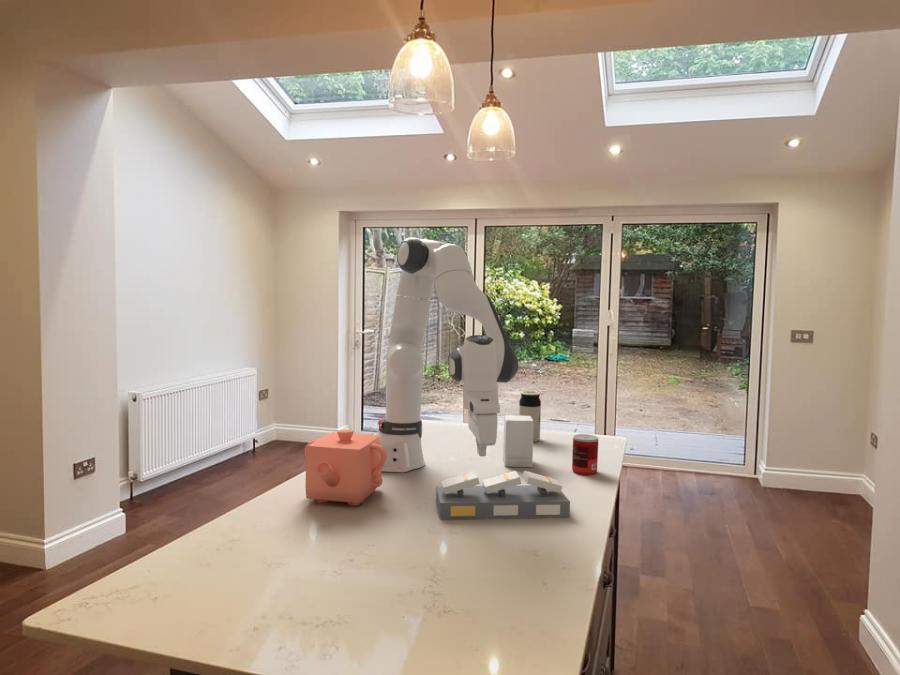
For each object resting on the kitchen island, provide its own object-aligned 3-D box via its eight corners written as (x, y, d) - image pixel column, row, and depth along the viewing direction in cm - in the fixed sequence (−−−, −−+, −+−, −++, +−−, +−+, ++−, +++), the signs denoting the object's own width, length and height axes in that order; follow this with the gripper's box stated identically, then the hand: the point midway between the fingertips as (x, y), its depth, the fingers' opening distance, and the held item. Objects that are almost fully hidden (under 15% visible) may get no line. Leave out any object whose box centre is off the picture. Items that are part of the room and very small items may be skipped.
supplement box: (532, 467, 199) (534, 420, 197) (504, 467, 199) (505, 420, 198) (529, 460, 208) (531, 415, 207) (502, 459, 208) (503, 414, 207)
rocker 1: (444, 494, 156) (442, 487, 155) (443, 487, 161) (441, 480, 161) (479, 484, 156) (477, 476, 156) (476, 477, 162) (474, 470, 162)
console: (440, 519, 152) (440, 496, 152) (436, 501, 165) (436, 480, 165) (569, 517, 155) (570, 495, 155) (555, 499, 168) (556, 479, 168)
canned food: (595, 468, 199) (596, 434, 198) (598, 476, 191) (600, 440, 190) (570, 467, 199) (571, 433, 199) (573, 475, 192) (574, 439, 191)
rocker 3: (526, 483, 157) (529, 476, 157) (522, 477, 163) (524, 469, 163) (560, 493, 159) (562, 485, 158) (554, 486, 164) (556, 479, 164)
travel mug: (515, 440, 234) (516, 392, 233) (522, 436, 241) (524, 389, 240) (535, 443, 231) (536, 394, 229) (542, 439, 238) (544, 391, 236)
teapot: (365, 521, 150) (365, 448, 148) (277, 513, 154) (277, 441, 153) (395, 489, 174) (396, 426, 173) (318, 483, 179) (318, 421, 177)
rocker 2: (487, 493, 157) (485, 486, 156) (483, 486, 162) (481, 479, 162) (521, 483, 157) (519, 476, 157) (517, 477, 163) (515, 470, 163)
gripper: (462, 394, 168) (463, 445, 169) (474, 408, 148) (475, 466, 149) (485, 393, 169) (486, 444, 170) (501, 407, 148) (502, 465, 149)
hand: (481, 454), depth 159 cm, fingers closed
